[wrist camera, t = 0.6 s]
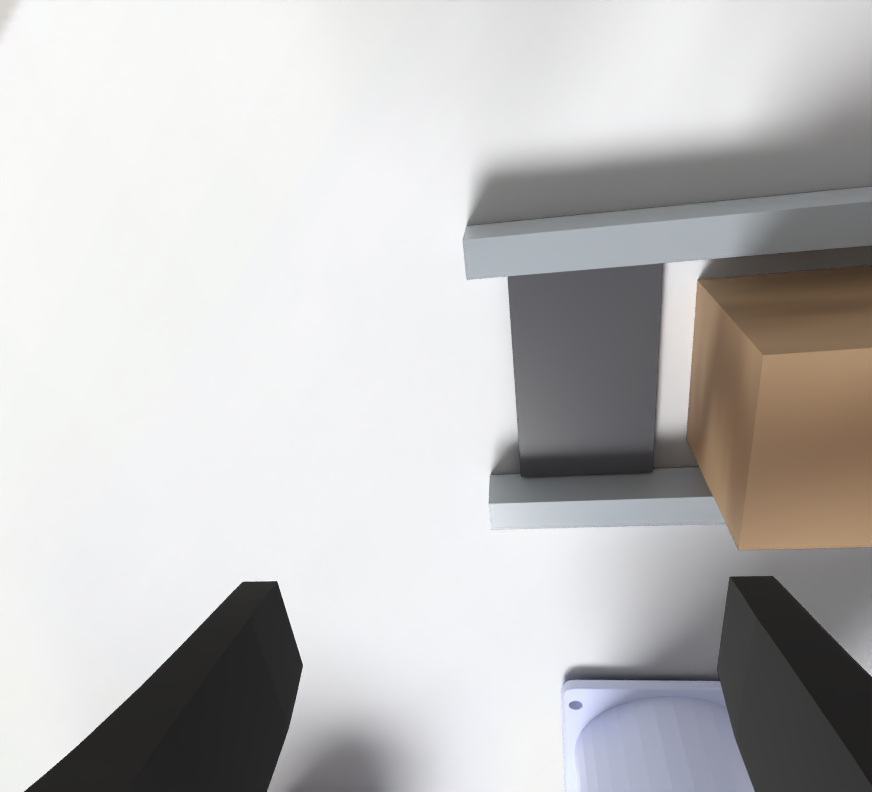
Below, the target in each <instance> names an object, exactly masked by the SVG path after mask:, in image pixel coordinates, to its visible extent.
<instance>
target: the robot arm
mask: <svg viewBox="0 0 872 792" xmlns="http://www.w3.org/2000/svg"><path fill="white" fill-rule="evenodd" d="M302 667H303V664H302V661H301V657H300V654H299V651H298V648H297V644H296V641H295V638H294V635H293V631H292V628H291V625H290V622H289V618H288V615H287V612H286V609H285V605H284V602H283V599H282V596H281V592H280V589H279V586H278V583H277V581H270V582H242V583H241V584H240V585H239V586H238V587H237V588H236V589H235V590H234V591H233V592H232V593H231V594H230V595H229V596H228V597H227V598H226V600H225V601H224V602H223V603H222V604H221V605H220V606H219V607H218V608H217V609H216V610H215V611H214V612H213V613H212V614H211V615H210V616H209V617H208V618H207V619H206V620H205V621H204V622H203V623H202V624H201V625H200V627H199V628H198V629H197V630H196V631H195V632H194V633H193V634H192V635H191V636H190V637H189V638H188V639H187V640H186V641H185V642H184V643H183V644H182V645H181V646H180V647H179V648H178V649H177V650H176V651H175V652H174V653H173V654H172V655H171V656H170V657H169V658H168V659H167V660H166V661H165V662H164V663H163V664H162V665H161V666H160V667H159V668H158V669H157V670H156V672H155V673H154V674H153V675H152V676H151V677H150V678H149V679H148V680H147V681H146V682H145V683H144V684H143V685H142V686H141V687H140V688H139V689H138V690H136V691H135V692H134V693H133V694H132V695H131V696H130V697H129V698H128V699H127V700H126V701H125V702H124V703H123V704H122V705H121V706H119V707H118V708H117V709H116V710H115V711H114V712H113V713H112V714H111V715H110V716H109V717H108V718H107V719H106V720H105V721H104V722H102V723H101V724H100V725H99V726H98V727H97V728H96V729H95V730H94V731H93V732H92V733H91V734H90V735H89V736H88V737H86V738H85V739H84V740H83V741H82V742H81V743H80V744H79V745H78V746H77V747H76V748H75V749H73V750H72V751H71V752H70V753H69V754H68V755H67V756H65V757H64V758H63V759H62V760H61V761H60V762H59V763H57V764H56V765H55V766H54V767H53V768H52V769H50V770H49V771H48V772H47V773H46V774H45V775H44V776H42V777H41V778H40V779H39V780H38V781H36V782H35V783H34V784H33V785H31V786H30V787H29V788H28V789H27V790H25V791H24V792H267V789H268V787H269V784H270V781H271V778H272V775H273V772H274V770H275V767H276V764H277V761H278V758H279V755H280V752H281V749H282V746H283V744H284V741H285V738H286V735H287V732H288V729H289V725H290V721H291V717H292V712H293V708H294V704H295V700H296V695H297V691H298V686H299V681H300V677H301V672H302ZM717 671H718V675H719V679H720V681H660V680H569V681H567V682H565V683H564V684H563V685H562V688H561V689H562V715H563V741H564V767H565V792H872V677H871V676H870V675H869V674H868V673H867V672H866V671H865V670H864V669H863V668H862V667H861V666H860V665H859V664H858V663H857V662H856V661H855V660H854V659H853V658H852V657H851V656H850V655H849V654H848V653H847V652H846V651H845V650H844V649H843V648H842V647H841V646H840V645H839V644H838V643H837V642H836V641H835V640H834V639H833V638H832V636H831V635H830V634H829V633H828V632H827V631H826V630H825V629H824V628H823V627H822V626H821V625H820V624H819V623H818V622H817V621H816V620H815V619H814V618H813V617H812V616H811V615H810V614H809V613H808V612H807V611H806V610H805V609H804V608H803V606H802V605H801V604H800V603H799V602H798V601H797V600H796V599H795V598H794V597H793V596H792V595H791V594H790V593H789V592H788V591H787V590H786V589H785V588H784V587H783V586H782V585H781V584H780V583H779V582H778V581H777V580H776V579H775V578H774V577H773V576H751V577H730V578H729V585H728V592H727V600H726V607H725V614H724V622H723V629H722V636H721V644H720V651H719V658H718V666H717Z"/></svg>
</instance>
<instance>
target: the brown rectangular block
mask: <svg viewBox="0 0 872 792" xmlns="http://www.w3.org/2000/svg"><path fill="white" fill-rule="evenodd" d="M686 440H687V442H688V444H689V447H690V449H691V451H692V453H693V455H694V457H695V459H696V461H697V463H698V466H699V468H700V470H701V472H702V474H703V476H704V478H705V480H706V482H707V485H708V487H709V489H710V491H711V493H712V495H713V497H714V499H715V501H716V503H717V506H718V508H719V510H720V512H721V514H722V516H723V518H724V520H725V522H726V525H727V527H728V529H729V531H730V533H731V535H732V537H733V539H734V541H735V544H736V546H737V548H738V550H769V549H810V548H852V547H872V265H867V266H856V267H844V268H832V269H821V270H809V271H798V272H786V273H774V274H763V275H751V276H740V277H728V278H716V279H705V280H697V293H696V308H695V322H694V336H693V351H692V365H691V379H690V393H689V408H688V422H687V436H686Z"/></svg>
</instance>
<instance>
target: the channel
mask: <svg viewBox="0 0 872 792" xmlns="http://www.w3.org/2000/svg"><path fill="white" fill-rule="evenodd" d="M870 245H872V186H870V187H860V188H850V189H840V190H829V191H819V192H809V193H799V194H788V195H778V196H768V197H758V198H747V199H737V200H727V201H717V202H706V203H696V204H686V205H676V206H665V207H655V208H645V209H635V210H624V211H614V212H604V213H594V214H583V215H573V216H563V217H553V218H542V219H532V220H522V221H512V222H501V223H491V224H481V225H471V226H466V229H465V233H464V237H463V249H464V259H465V269H466V279H467V280H470V279H482V278H493V277H505V276H508V289H509V304H510V319H511V334H512V349H513V363H514V378H515V393H516V408H517V423H518V437H519V452H520V467H521V474H504V475H490V486H489V512H490V522H491V530H503V529H541V528H579V527H618V526H656V525H694V524H726V522H725V520H724V518H723V516H722V514H721V512H720V510H719V508H718V506H717V503H716V501H715V499H714V497H713V495H712V493H711V491H710V489H709V487H708V485H707V482H706V480H705V478H704V476H703V474H702V472H701V470H700V468H699V467H684V468H659V469H653V454H654V434H655V414H656V394H657V374H658V354H659V334H660V314H661V294H662V274H663V263H670V262H682V261H694V260H706V259H717V258H729V257H741V256H753V255H764V254H776V253H788V252H800V251H812V250H823V249H835V248H847V247H859V246H870Z"/></svg>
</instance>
